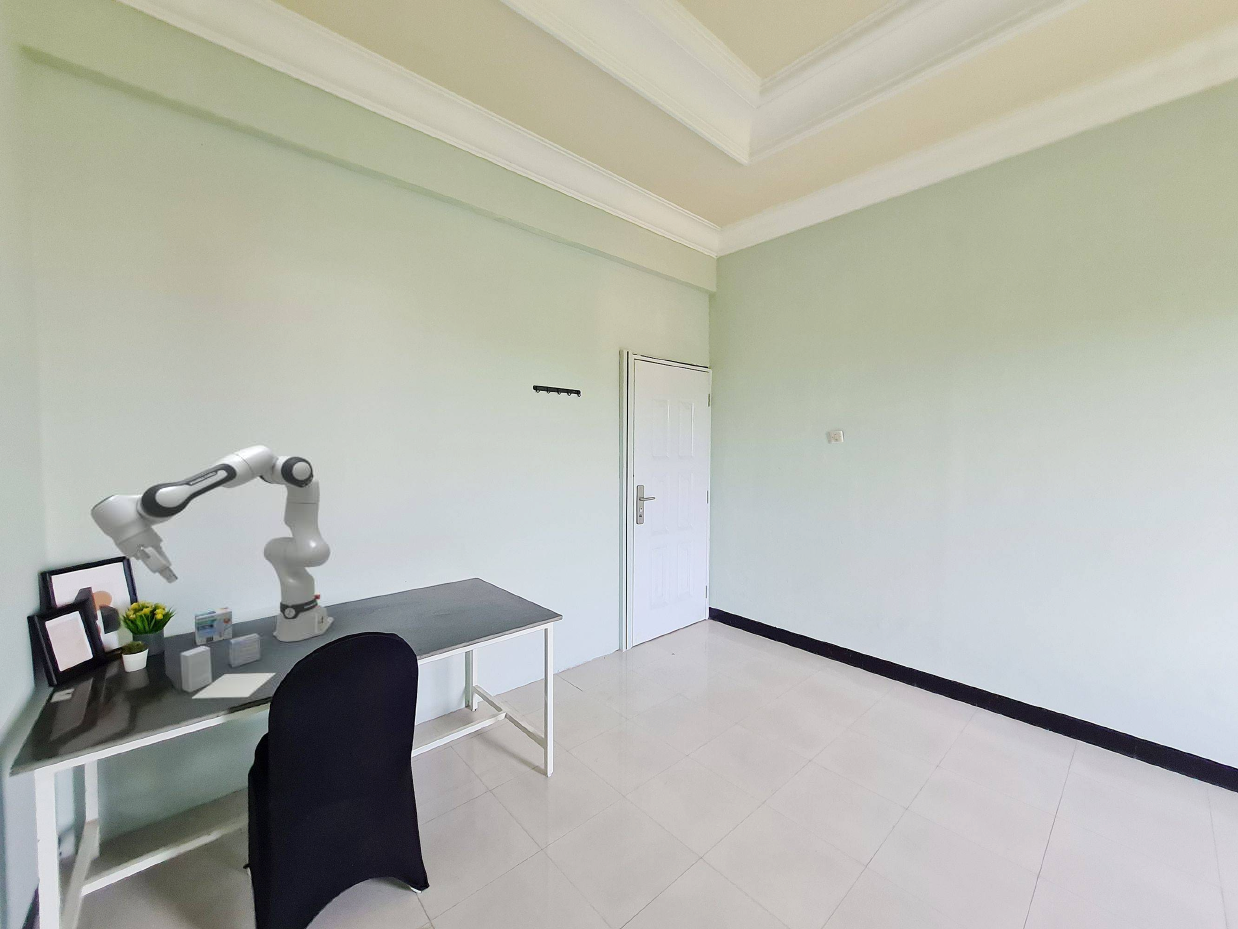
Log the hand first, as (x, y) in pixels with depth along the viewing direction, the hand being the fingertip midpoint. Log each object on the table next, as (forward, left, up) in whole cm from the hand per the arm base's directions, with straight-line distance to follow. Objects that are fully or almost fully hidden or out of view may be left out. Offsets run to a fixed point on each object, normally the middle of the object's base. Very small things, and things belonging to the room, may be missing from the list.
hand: (174, 581), depth 145 cm
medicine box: (-18, +8, -35) cm, 40 cm away
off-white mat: (-2, +15, -35) cm, 38 cm away
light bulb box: (-37, -16, -35) cm, 53 cm away
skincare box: (-2, +4, -35) cm, 35 cm away
